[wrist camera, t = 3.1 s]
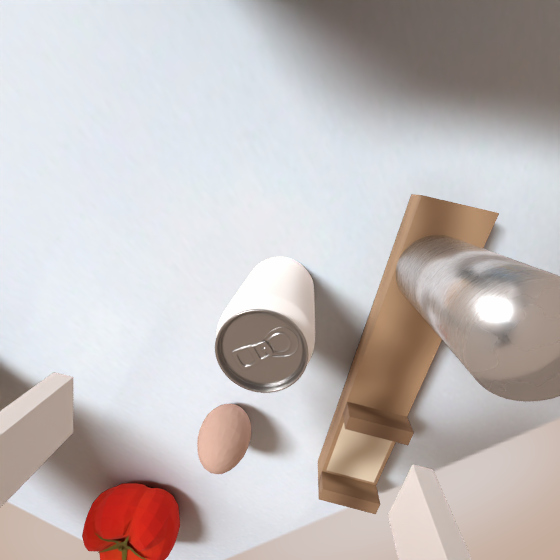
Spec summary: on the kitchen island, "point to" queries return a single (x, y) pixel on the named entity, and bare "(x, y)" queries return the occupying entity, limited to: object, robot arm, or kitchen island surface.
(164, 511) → the tomato
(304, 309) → the can
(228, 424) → the egg
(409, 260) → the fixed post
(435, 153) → the kitchen island surface
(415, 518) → the robot arm
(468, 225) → the rail
